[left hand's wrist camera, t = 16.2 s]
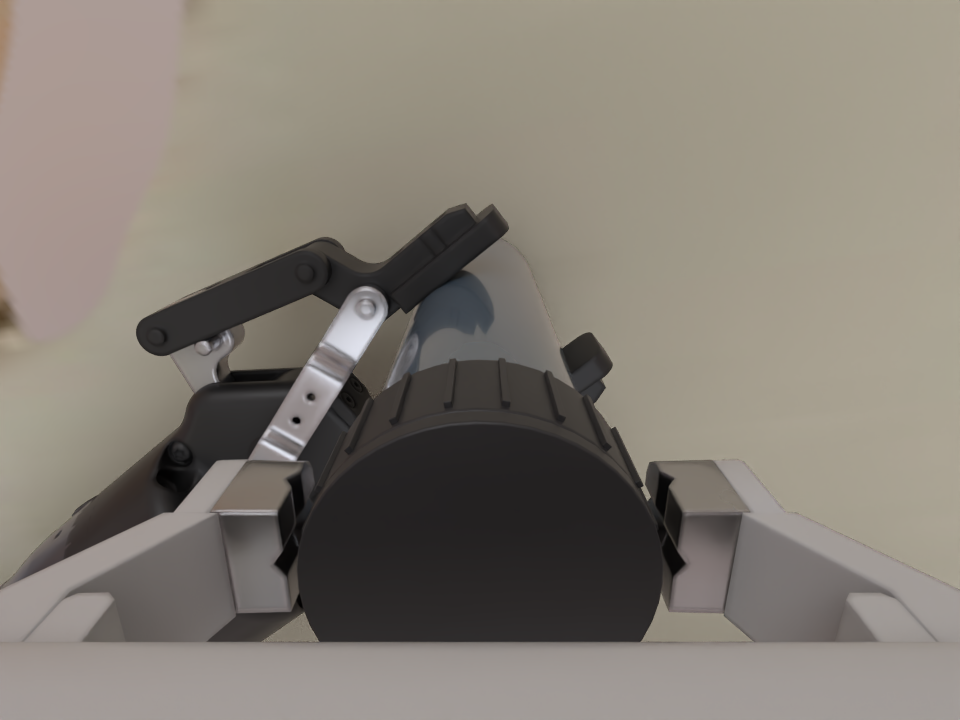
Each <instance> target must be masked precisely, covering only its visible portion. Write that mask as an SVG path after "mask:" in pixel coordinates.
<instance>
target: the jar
mask: <svg viewBox="0 0 960 720" xmlns="http://www.w3.org/2000/svg"><path fill="white" fill-rule="evenodd" d="M454 358H456V361H466V360H496V361H498V360H499V358H505V359H506V362H509V363H515V364H520V365H523V366H527V367H530V368H533V369H537V370H539V371H542V372H544V373H545V371H546V370H548V371H551V372H552V373H553V376H554V377H555V378H557V379H559V380H560V381H562V382H564V383H565V384H567V385H569V386H570V387H572V388H573V389H575V390H576V391H577V392H578V393H579V391H578V389H577V386H576V384H575V381H574V379H573V376H572V374H571V371H570V369H569V366H568V363H567V361H566V358H565V356H564V353H563V351H562V348H561V346H560V343H559V341H558V338H557V335H556V333H555V330H554V328H553V325H552V323H551V320H550V318H549V315H548V313H547V310H546V307H545V305H544V302H543V300H542V297H541V295H540V292H539V290H538V287H537V285H536V282H535V279H534V277H533V274H532V272H531V269H530V267H529V265H528V263H527V261H526V259H525V258H524V256H523V255H522V254H521V252H520V251H519V250H518V249H517V248H515V247H514V246H513V245H512V244H510V243H509V242H507V241H505V240H503V239H501V238H500V239H499V240H498V241H496V242H495V243H494V244H493V245H491V246H490V247H489V248H488V249H486V250H485V251H484V252H483V253H481V254H480V255H479V256H478V257H476V258H475V259H474V260H473V261H471V262H470V263H469V264H468V265H466V266H465V267H464V268H463V269H461V270H460V271H459V272H458V273H456V274H455V275H454V276H453V277H452V278H450V279H449V280H448V281H447V282H445V283H444V284H443V285H442V286H440V287H439V288H438V289H437V290H435V291H433V292H432V293H431V294H430V295H429V296H427V297H426V298H425V299H424V300H423V301H422V302H420V303H419V304H418V305H417V306H415V308H414V310H413V313H412V315H411V318H410V320H409V323H408V326H407V328H406V331H405V333H404V336H403V338H402V341H401V343H400V346H399V349H398V351H397V354H396V356H395V359H394V361H393V364H392V366H391V369H390V371H389V374H388V377H387V379H386V382H385V384H384V387H383V389H382V392H383V391H384V390H386V389H387V388H389V387H390V386H392V385H393V384H395V383H396V382H398V381H399V380H401V379H402V377H403V374H405V373H407V372H410V374H411V375H412V374H414V373H416V372H418V371H421V370H424V369H427V368H430V367H433V366H436V365H441V364H446V363H449V359H454ZM382 392H381V393H382Z"/></svg>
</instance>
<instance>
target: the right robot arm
mask: <svg viewBox="0 0 960 720" xmlns="http://www.w3.org/2000/svg"><path fill="white" fill-rule="evenodd" d="M508 229H509V227H508V224H507V222H506V220H505V219H504V218H503V217H502V215H501V214H500V213H499V211H498V210H497V209H496V208H495V206H494V205H493V204H491V205H489V206H488V207H487V208H485V209H484V210H483V211H481V212H480V213H479V214H478V215H475V214H474V213H473V211H472V210H471V209H470V207H469V206H468V205H467V204H466V203H465V204H462V205H459V206H456V207H452V208H449V209H448V210H446V211H445V212H444V213H443V214H442V215H441V216H439V217H438V218H437V219H436V220H435V221H433V222H432V223H431V224H430V225H429V226H427V227H426V228H425V229H424V230H423V231H421V232H420V233H419V234H418V235H417V236H415V237H414V238H413V239H412V240H411V241H409V242H408V243H407V244H406V245H405V246H403V247H402V248H401V249H400V250H399V251H398V252H396V253H395V254H394V255H393V256H392V257H390V258H389V259H388V260H386V261H384V262H381V263H376V264H371V263H366V262H363V261H361V260H359V259H357V258H356V257H354V256H352V255H350V254H349V253H347V252H345V250H344V248H343V246H342V245H341V244H340V243H339V242H338V241H336V240H335V239H333V238H329V237H321V238H318V239H316V240H313V241H311V242H309V243H306V244H304V245H302V246H300V247H297V248H295V249H293V250H290V251H288V252H286V253H284V254H281V255H279V256H277V257H274V258H272V259H270V260H268V261H265V262H263V263H261V264H258V265H256V266H254V267H252V268H249V269H247V270H245V271H242V272H240V273H238V274H236V275H233V276H231V277H229V278H226V279H224V280H222V281H219V282H217V283H215V284H213V285H210V286H208V287H206V288H203V289H201V290H199V291H197V292H194V293H192V294H190V295H187V296H185V297H183V298H181V299H180V300H178V301H176V302H174V303H172V304H170V305H168V306H166V307H164V308H162V309H160V310H159V311H157V312H155V313H153V314H151V315H149V316H147V317H146V318H144V319H142V320H141V321H140V322H139V324H138V326H137V329H136V335H137V339H138V341H139V343H140V345H141V346H142V347H143V348H144V349H145V350H146V351H148V352H149V353H151V354H154V355H157V356H166V355H169V354H170V356H171V357H172V359H173V361H174V362H175V364H176V365H177V367H178V368H179V370H180V372H181V373H182V375H183V376H184V378H185V379H186V381H187V383H188V384H189V386H190V387H191V389H192V390H193V392H194V395H193V396H192V397H191V399H190V401H189V403H188V405H187V408H186V413H185V417H184V420H183V422H182V424H181V425H180V427H178V428H177V429H176V430H175V431H174V432H172V433H171V434H170V435H169V436H168V437H166V438H165V439H164V440H163V441H162V442H161V443H159V444H158V445H157V446H156V447H155V448H153V449H152V450H151V451H150V452H149V453H147V454H146V455H145V456H144V457H143V458H141V459H140V460H139V461H138V462H137V463H136V464H134V465H133V466H132V467H131V468H130V469H128V470H127V471H126V472H125V473H124V474H122V475H121V476H120V477H119V478H118V479H117V480H115V481H114V482H113V483H112V484H111V485H109V486H108V487H107V488H106V489H105V490H103V491H102V492H101V493H100V494H99V495H97V496H95V497H93V498H92V499H90V500H88V501H87V502H85V503H84V504H83V505H81V506H80V507H79V508H77V509H76V510H75V513H74V514H73V515H72V517H71V518H70V519H69V520H68V521H67V522H65V523H64V524H63V525H62V526H61V527H59V528H58V529H57V530H56V531H54V532H53V533H52V534H51V535H50V536H49V537H48V538H47V539H46V540H45V541H44V542H42V543H41V544H40V545H39V546H38V547H37V548H36V549H35V550H34V552H33V553H32V554H31V555H30V556H29V557H28V558H27V559H26V561H25V562H24V563H23V564H22V566H21V567H20V568H19V569H18V571H17V572H16V573H15V574H14V575H13V576H12V577H11V578H10V579H9V580H8V581H6V582H5V583H4V584H3V585H2V586H0V590H1V589H3V588H5V587H7V586H9V585H11V584H13V583H15V582H18V581H20V580H22V579H24V578H26V577H28V576H30V575H32V574H35V573H37V572H39V571H41V570H43V569H45V568H47V567H49V566H52V565H54V564H56V563H58V562H60V561H62V560H64V559H66V558H69V557H71V556H73V555H75V554H77V553H79V552H81V551H83V550H86V549H88V548H90V547H92V546H94V545H96V544H98V543H100V542H103V541H105V540H107V539H109V538H111V537H113V536H115V535H117V534H119V533H122V532H124V531H126V530H128V529H130V528H132V527H134V526H136V525H139V524H141V523H143V522H145V521H147V520H149V519H151V518H153V517H156V516H158V515H160V514H162V513H173V512H174V511H175V510H176V509H177V508H178V506H179V505H180V504H181V503H182V502H183V500H184V499H185V498H186V497H187V496H188V494H189V493H190V492H191V491H192V490H193V488H194V487H195V486H196V485H197V484H198V482H199V481H200V480H201V479H202V478H203V476H204V475H205V474H206V473H207V472H208V470H209V469H210V468H211V467H212V466H213V464H214V463H215V462H216V461H220V460H240V459H248V460H283V461H309V462H310V464H311V465H312V467H313V474H314V481H315V485H314V487H313V489H312V492H311V494H310V496H309V498H310V499H311V500H312V501H313V502H314V501H315V499H316V497H317V495H318V492H316V491H314V490H315V487H316V485H317V483H318V481H319V479H320V477H321V475H322V473H323V471H324V469H325V466H326V464H327V462H328V460H329V458H330V456H331V454H332V452H333V450H334V447H335V445H336V443H337V441H338V439H339V437H340V435H341V433H342V431H344V432H346V433H347V432H348V431H349V429H350V427H351V426H352V424H353V423H354V421H355V419H356V418H357V417H358V416H359V414H360V413H361V411H362V409H363V406H364V404H365V402H366V400H367V399H368V398H369V397H371V396H370V394H369V392H368V390H367V389H366V387H365V386H364V385H363V384H362V383H361V382H360V381H359V380H358V379H357V378H356V377H355V375H354V374H353V373H352V371H353V369H354V368H355V366H356V364H357V363H358V361H359V360H360V358H361V357H362V355H363V353H364V352H365V350H366V349H367V347H368V345H369V344H370V342H371V341H372V339H373V338H374V336H375V334H376V333H377V331H378V330H379V328H380V327H381V325H382V323H383V322H384V321H385V320H386V319H387V318H389V317H390V316H391V315H392V314H394V313H395V312H396V311H397V310H399V309H400V308H401V309H402V310H403V311H404V312H405V313H406V314H407V313H408V312H409V311H410V310H412V309H413V308H414V307H415V306H417V305H418V304H419V303H420V302H422V301H423V300H424V299H425V298H426V297H427V296H429V295H430V294H431V293H432V292H433V291H435V290H437V289H438V288H439V287H440V286H442V285H443V284H444V283H445V282H447V281H448V280H449V279H450V278H452V277H453V276H454V275H455V274H456V273H458V272H459V271H460V270H461V269H463V268H464V267H465V266H466V265H468V264H469V263H470V262H471V261H473V260H474V259H475V258H476V257H478V256H479V255H480V254H481V253H483V252H484V251H485V250H486V249H488V248H489V247H490V246H491V245H493V244H494V243H495V242H496V241H498V240H499V239H500V238H501V237H502V236H503V235H504V234H505V233H506V232H507V231H508ZM311 294H313V295H315V296H317V297H318V298H320V299H322V300H324V301H326V302H327V303H329V304H331V305H333V306H335V307H336V308H338V309H340V310H339V312H338V313H337V315H336V317H335V318H334V320H333V321H332V323H331V325H330V326H329V328H328V330H327V331H326V333H325V335H324V336H323V338H322V340H321V341H320V343H319V345H318V346H317V348H316V349H315V350H314V352H313V353H312V355H311V357H310V358H309V360H308V361H307V363H306V364H305V366H304V367H300V368H278V369H256V370H233V371H230V369H229V366H228V356H229V354H230V353H231V352H232V351H233V350H234V349H236V348H237V347H238V346H239V345H240V344H241V343H242V342H243V340H244V336H245V331H244V327H243V325H242V324H243V323H245V322H247V321H250V320H252V319H254V318H257V317H259V316H262V315H264V314H266V313H269V312H271V311H273V310H276V309H278V308H280V307H283V306H285V305H288V304H290V303H292V302H295V301H297V300H299V299H302V298H304V297H306V296H309V295H311ZM562 351H563V353H564V356H565V358H566V361H567V363H568V366H569V369H570V371H571V374H572V376H573V379H574V381H575V384H576V386H577V389H578V391H579V393H580V394H581V395H582V396H583V397H584V396H585V395H586V394H587V395H589V396H590V397H591V399H592V401H593V403H595V402H596V401H597V400H598V398H599V397H600V395H601V394H602V392H603V391H604V389H605V388H606V387H605V385H604V383H603V381H602V378H603V377H605V376H606V375H607V374H608V373H609V371H610V370H611V368H612V366H613V364H612V362H611V360H610V358H609V356H608V355H607V353H606V351H605V350H604V348H603V347H602V346H601V345H600V343H599V342H598V341H597V339H596V338H595V337H594V335H593V334H592V333H590V332H589V333H585V334H583V335H581V336H579V337H578V338H576V339H575V340H573V341H572V342H571V343H569V344H568V345H567V346H565V347H564V348H562ZM303 612H305V611H304V609H303V606H302V601H301V597H300V593H299V594H298V596H297V599H296V601H295V604H294V606H293V609H292V611H291V612H265V613H236V617H235V618H233V619H232V620H231V621H230V622H229V623H227V624H226V625H225V626H224V627H223V628H222V629H220V630H219V631H218V632H217V633H216V634H215V635H213V636H212V637H211V638H210V639H209V640H208V641H206V642H261V641H263V640H264V639H266V638H267V637H268V636H270V635H271V634H273V633H274V632H276V631H277V630H279V629H280V628H282V627H283V626H284V625H286V624H287V623H289V622H290V621H292V620H293V619H295V618H296V617H297V616H299V615H300V614H302V613H303Z"/></svg>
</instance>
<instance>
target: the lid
mask: <svg viewBox="0 0 960 720" xmlns="http://www.w3.org/2000/svg"><path fill="white" fill-rule="evenodd" d="M641 487H643V483H642V481H641V479H640V477H639V475H638V473H637V471H636V468H635V466H634V464H633V462H632V460H631V458H630V456H629V454H628V452H627V449H626V447H625V445H624V443H623V441H622V439H621V437H620V435H619V433H618V431H617V429H616V427H614V428H612V429H611V428H610V427H609V425H608V424H607V422H606V421H605V419H604V418H603V417H602V415H601V414H600V413H599V412H598V411H597V409H596V408H595V406H594V404H593V401H592V399H591V397H590V396H589V395H587V394H586V395H585V396H584V397H583V396H582V395H581V394H580V393H578V392H577V391H576V390H575V389H573V388H572V387H570V386H569V385H567V384H565V383H564V382H562V381H560V380H559V379H557V378H555V377H554V376H553V373H552V372H551V371H548V370H546V371H545V373H544V372H542V371H539V370H537V369H533V368H530V367H527V366H523V365H520V364H515V363H509V362H506V359H505V358H499V360H498V361H496V360H466V361H456V358H454V359H449V363H446V364H441V365H436V366H433V367H430V368H427V369H424V370H421V371H418V372H416V373H414V374H412V375H411V374H410V372H407V373H405V374H403V377H402V379H401V380H399V381H398V382H396V383H395V384H393V385H392V386H390V387H389V388H387V389H386V390H384V391H383V392H382V393H380V394H379V395H378V396H377V397H376V398H375V399H374V400H373V399H372V398H371V397H369V398H368V399H367V400H366V402H365V404H364V406H363V409H362V411H361V413H360V414H359V416H358V417H357V418H356V419H355V421H354V423H353V424H352V426H351V427H350V429H349V431H348V432H347V433H346V432H344V431H342V433H341V435H340V437H339V439H338V441H337V443H336V445H335V447H334V450H333V452H332V454H331V456H330V458H329V460H328V462H327V464H326V466H325V469H324V471H323V473H322V475H321V477H320V479H319V481H318V483H317V485H316V487H315V490H314V491H316V492H318V495H317V497H316V499H315V501H314V504H313V506H312V508H311V510H310V512H309V514H308V517H307V519H306V521H305V523H304V525H303V528H302V532H301V535H302V537H301V541H300V545H299V550H298V560H297V577H298V589H299V593H300V597H301V601H302V606H303V609H304V611H305V614H306V616H307V619H308V621H309V624H310V626H311V628H312V629H313V631H314V633H315V635H316V636H317V638H318V640H319V641H320V642H640V641H641V640H642V639H643V637H644V635H645V633H646V632H647V630H648V628H649V626H650V624H651V622H652V620H653V617H654V615H655V612H656V609H657V606H658V604H659V599H660V594H661V589H662V583H663V557H662V549H661V542H660V539H659V536H658V533H657V530H658V524H657V522H656V519H655V517H654V515H653V513H652V511H651V509H650V506H649V504H648V502H647V500H646V498H645V496H644V494H643V491H642V489H641Z"/></svg>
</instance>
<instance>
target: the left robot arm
mask: <svg viewBox="0 0 960 720" xmlns="http://www.w3.org/2000/svg"><path fill="white" fill-rule="evenodd" d="M314 485H315V481H314V474H313V467H312V465H311V464H310V462H309V461H283V460H248V459H240V460H220V461H216V462H215V463H214V464H213V466H212V467H211V468H210V469H209V470H208V472H207V473H206V474H205V475H204V476H203V478H202V479H201V480H200V481H199V482H198V484H197V485H196V486H195V487H194V488H193V490H192V491H191V492H190V493H189V494H188V496H187V497H186V498H185V499H184V500H183V502H182V503H181V504H180V505H179V506H178V508H177V509H176V510H175V511H174V512H173V513H162V514H160V515H158V516H156V517H153V518H151V519H149V520H147V521H145V522H143V523H141V524H139V525H136V526H134V527H132V528H130V529H128V530H126V531H124V532H122V533H119V534H117V535H115V536H113V537H111V538H109V539H107V540H105V541H103V542H100V543H98V544H96V545H94V546H92V547H90V548H88V549H86V550H83V551H81V552H79V553H77V554H75V555H73V556H71V557H69V558H66V559H64V560H62V561H60V562H58V563H56V564H54V565H52V566H49V567H47V568H45V569H43V570H41V571H39V572H37V573H35V574H32V575H30V576H28V577H26V578H24V579H22V580H20V581H18V582H15V583H13V584H11V585H9V586H7V587H5V588H3V589H1V590H0V720H960V590H959V589H957V588H955V587H953V586H951V585H948V584H946V583H944V582H942V581H940V580H938V579H936V578H934V577H932V576H929V575H927V574H925V573H923V572H921V571H919V570H917V569H915V568H912V567H910V566H908V565H906V564H904V563H902V562H900V561H898V560H896V559H893V558H891V557H889V556H887V555H885V554H883V553H881V552H879V551H876V550H874V549H872V548H870V547H868V546H866V545H864V544H862V543H860V542H857V541H855V540H853V539H851V538H849V537H847V536H845V535H843V534H840V533H838V532H836V531H834V530H832V529H830V528H828V527H826V526H824V525H821V524H819V523H817V522H815V521H813V520H811V519H809V518H807V517H804V516H802V515H800V514H798V513H787V512H786V511H785V510H784V509H783V508H782V506H781V505H780V504H779V503H778V502H777V500H776V499H775V498H774V497H773V496H772V494H771V493H770V492H769V491H768V490H767V488H766V487H765V486H764V485H763V484H762V482H761V481H760V480H759V479H758V478H757V476H756V475H755V474H754V473H753V472H752V470H751V469H750V468H749V467H748V466H747V465H746V463H745V462H744V461H741V460H739V459H730V460H690V461H654V462H650V463H649V466H648V469H647V473H646V481H645V485H646V487H647V489H648V491H649V494H650V496H651V498H650V499H649V500H648V501H647V502H648V504H649V506H650V509H651V511H652V513H653V515H654V517H655V519H656V522H657V524H658V530H657V533H658V536H659V539H660V542H661V549H662V557H663V583H662V589H661V594H662V596H663V598H664V601H665V603H666V606H667V608H668V611H669V612H694V613H724V616H725V617H726V618H727V619H728V620H729V621H731V622H732V623H733V624H734V625H735V626H736V627H738V628H739V629H740V630H741V631H742V632H743V633H745V634H746V635H747V636H748V637H749V638H750V639H752V640H753V641H754V642H206V641H208V640H209V639H210V638H211V637H212V636H213V635H215V634H216V633H217V632H218V631H219V630H220V629H222V628H223V627H224V626H225V625H226V624H227V623H229V622H230V621H231V620H232V619H233V618H235V617H236V613H265V612H291V611H292V609H293V606H294V604H295V601H296V599H297V596H298V594H299V589H298V577H297V560H298V550H299V545H300V541H301V537H302V535H301V532H302V528H303V525H304V523H305V521H306V519H307V517H308V514H309V512H310V510H311V508H312V506H313V504H314V502H313V501H312V500H311V499H310V498H309V496H310V494H311V492H312V489H313V487H314Z"/></svg>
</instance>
